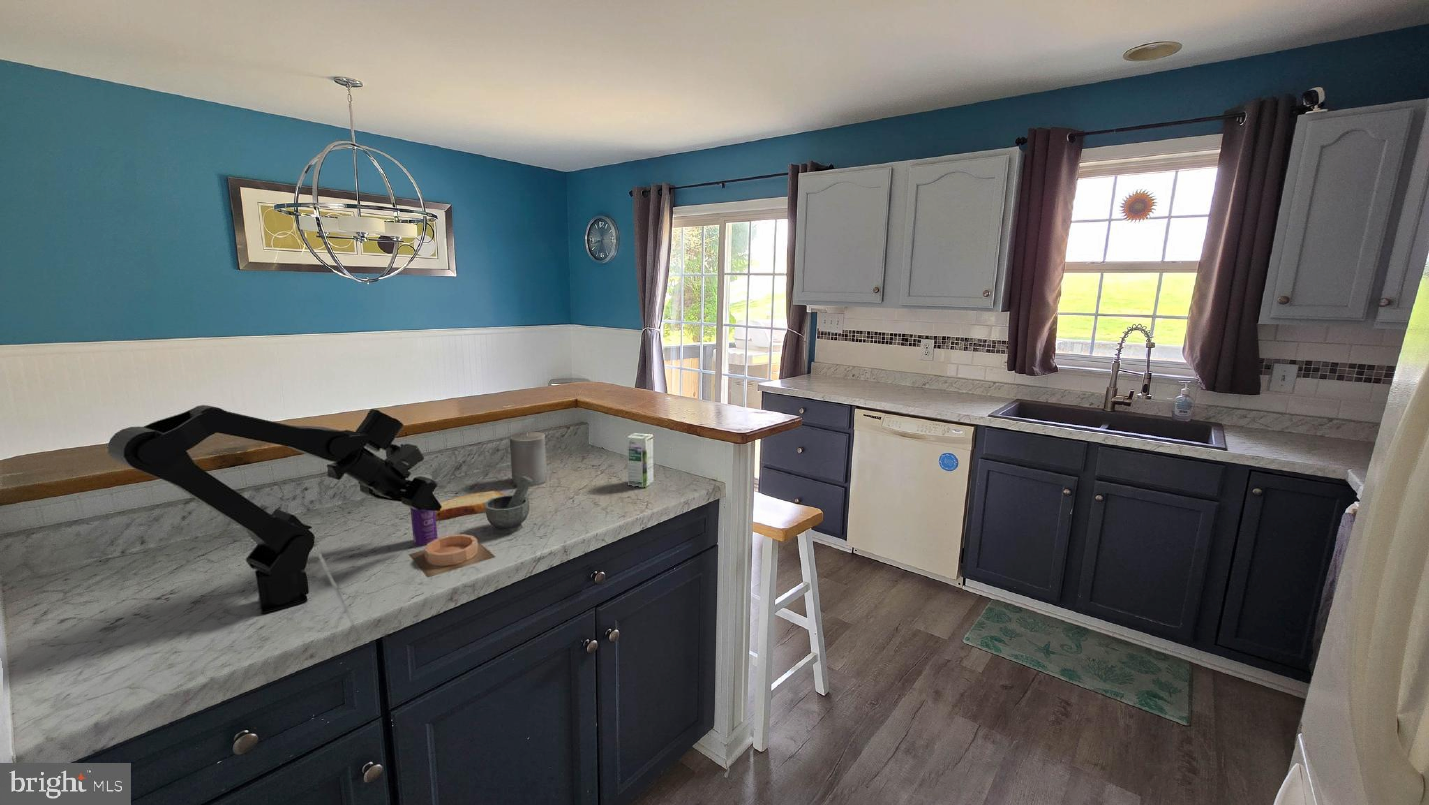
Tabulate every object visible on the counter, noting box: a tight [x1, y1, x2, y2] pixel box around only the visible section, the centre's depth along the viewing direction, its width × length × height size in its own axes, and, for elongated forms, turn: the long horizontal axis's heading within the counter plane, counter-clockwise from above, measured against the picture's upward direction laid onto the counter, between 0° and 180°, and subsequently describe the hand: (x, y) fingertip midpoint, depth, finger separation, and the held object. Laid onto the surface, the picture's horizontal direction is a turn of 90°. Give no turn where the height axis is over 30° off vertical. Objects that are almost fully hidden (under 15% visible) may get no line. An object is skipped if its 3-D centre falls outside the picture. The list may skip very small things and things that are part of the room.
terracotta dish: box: [423, 533, 479, 566], centre depth 118 cm, size 10×10×2 cm
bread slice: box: [435, 490, 505, 522], centre depth 144 cm, size 18×18×4 cm
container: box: [407, 473, 439, 547], centre depth 123 cm, size 5×5×15 cm
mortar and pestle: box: [484, 476, 533, 535], centre depth 131 cm, size 11×9×12 cm
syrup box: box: [626, 432, 654, 489], centre depth 163 cm, size 6×6×14 cm
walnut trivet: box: [408, 540, 496, 578], centre depth 118 cm, size 13×13×1 cm
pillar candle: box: [509, 431, 548, 488], centre depth 165 cm, size 10×10×15 cm
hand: (426, 504), depth 124 cm, fingers open, 9 cm apart
